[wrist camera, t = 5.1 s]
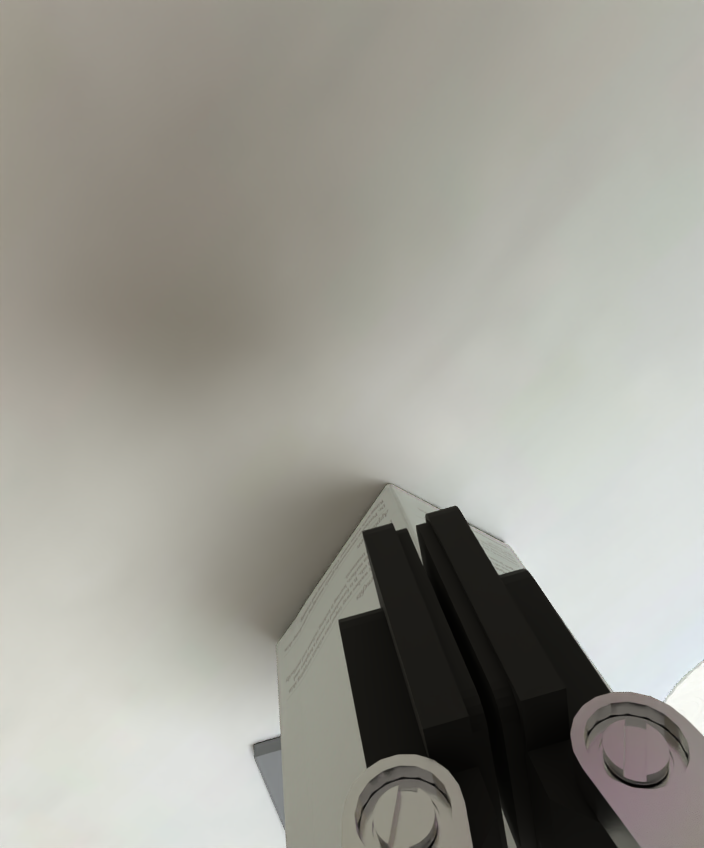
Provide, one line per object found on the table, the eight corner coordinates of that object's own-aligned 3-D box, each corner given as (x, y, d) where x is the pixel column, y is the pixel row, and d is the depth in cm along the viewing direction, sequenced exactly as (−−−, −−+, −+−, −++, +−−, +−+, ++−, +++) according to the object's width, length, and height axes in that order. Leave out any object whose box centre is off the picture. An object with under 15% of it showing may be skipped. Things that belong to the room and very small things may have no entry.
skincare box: (393, 687, 25) (556, 1285, 12) (264, 638, 23) (286, 1292, 10) (516, 532, 23) (885, 1051, 10) (386, 464, 21) (624, 1000, 8)
